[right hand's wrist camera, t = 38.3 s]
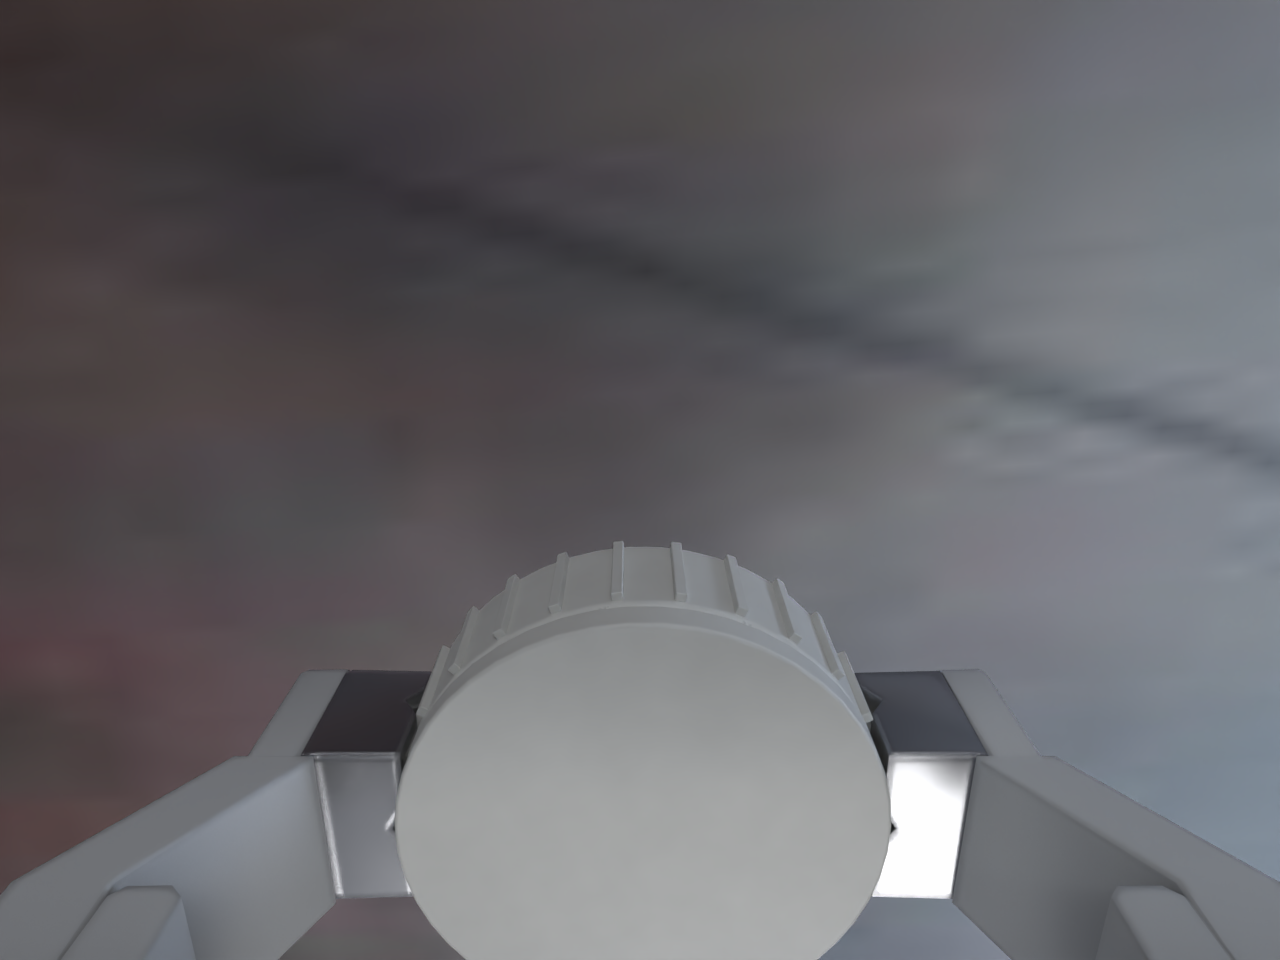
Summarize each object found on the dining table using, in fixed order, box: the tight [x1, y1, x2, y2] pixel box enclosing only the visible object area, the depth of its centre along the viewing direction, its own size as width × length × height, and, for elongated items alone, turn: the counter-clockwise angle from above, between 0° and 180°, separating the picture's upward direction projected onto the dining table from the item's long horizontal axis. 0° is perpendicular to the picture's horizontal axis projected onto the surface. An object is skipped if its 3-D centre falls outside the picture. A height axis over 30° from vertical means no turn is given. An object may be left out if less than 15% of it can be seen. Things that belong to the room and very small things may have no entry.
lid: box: [395, 541, 891, 960], centre depth 9 cm, size 5×5×2 cm
